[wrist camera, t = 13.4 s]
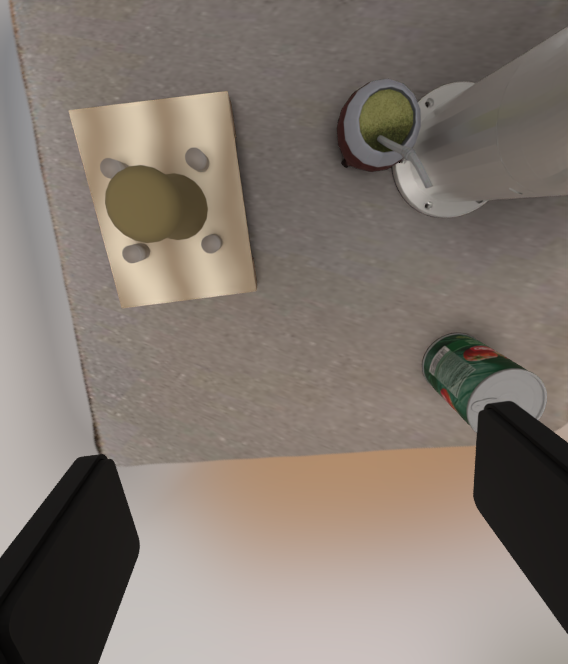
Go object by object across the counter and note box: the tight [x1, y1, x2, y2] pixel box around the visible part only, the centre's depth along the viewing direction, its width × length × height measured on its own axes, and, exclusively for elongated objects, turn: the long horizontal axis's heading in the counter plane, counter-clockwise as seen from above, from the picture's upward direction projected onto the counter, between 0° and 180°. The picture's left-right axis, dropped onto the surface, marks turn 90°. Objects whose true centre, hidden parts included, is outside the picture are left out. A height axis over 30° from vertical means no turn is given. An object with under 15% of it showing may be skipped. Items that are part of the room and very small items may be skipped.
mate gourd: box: [337, 79, 433, 189], centre depth 30 cm, size 8×8×15 cm
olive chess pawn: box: [105, 165, 208, 243], centre depth 29 cm, size 6×6×11 cm
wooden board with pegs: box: [69, 91, 257, 308], centre depth 35 cm, size 14×18×7 cm
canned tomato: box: [422, 333, 547, 433], centre depth 40 cm, size 8×8×11 cm
